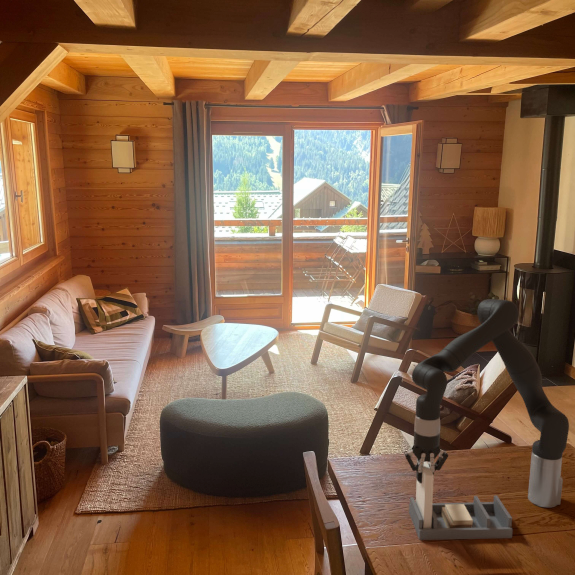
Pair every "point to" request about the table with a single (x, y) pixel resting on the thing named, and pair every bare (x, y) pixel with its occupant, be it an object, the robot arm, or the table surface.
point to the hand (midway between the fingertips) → (424, 481)
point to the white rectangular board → (425, 496)
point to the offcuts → (456, 516)
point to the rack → (486, 524)
